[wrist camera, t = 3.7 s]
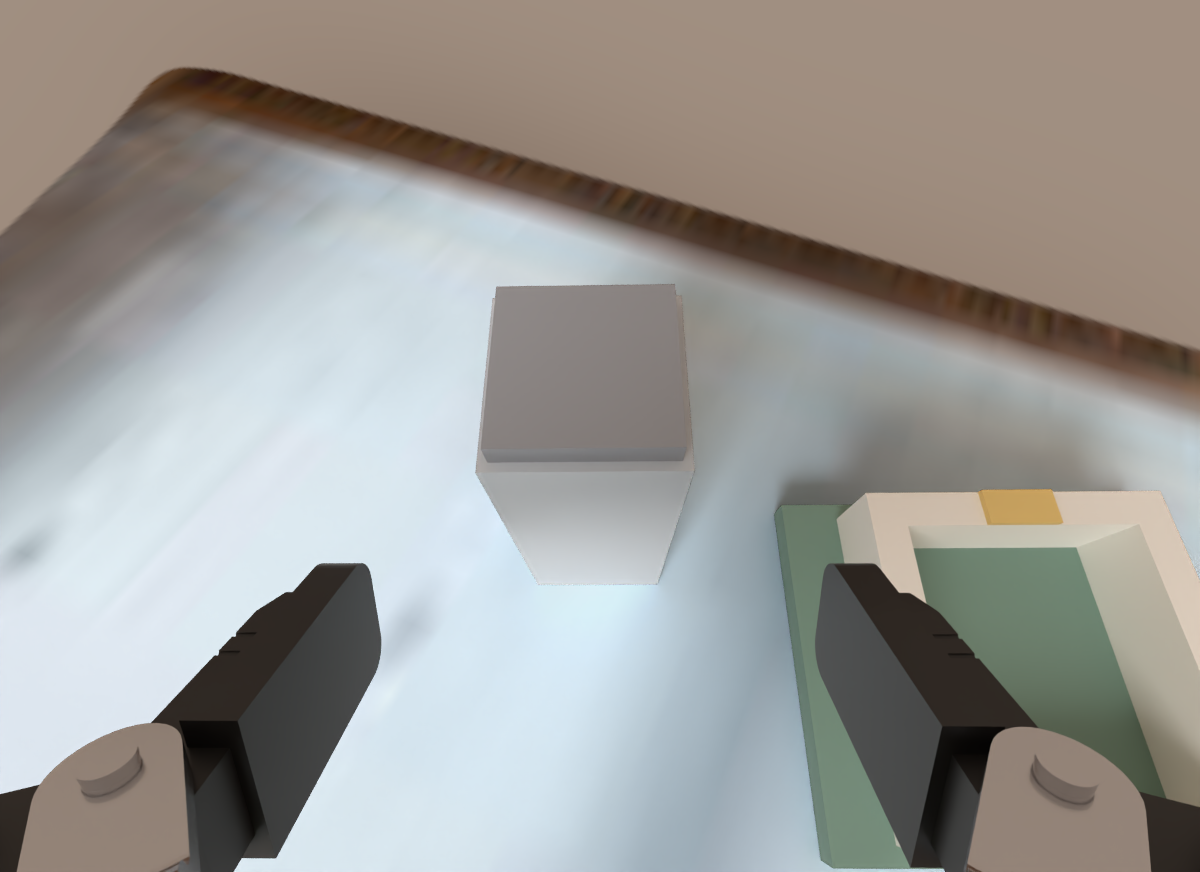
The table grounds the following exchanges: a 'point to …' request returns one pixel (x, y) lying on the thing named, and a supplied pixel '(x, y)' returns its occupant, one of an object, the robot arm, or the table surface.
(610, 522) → the grey tall block
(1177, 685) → the board
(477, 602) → the table surface
